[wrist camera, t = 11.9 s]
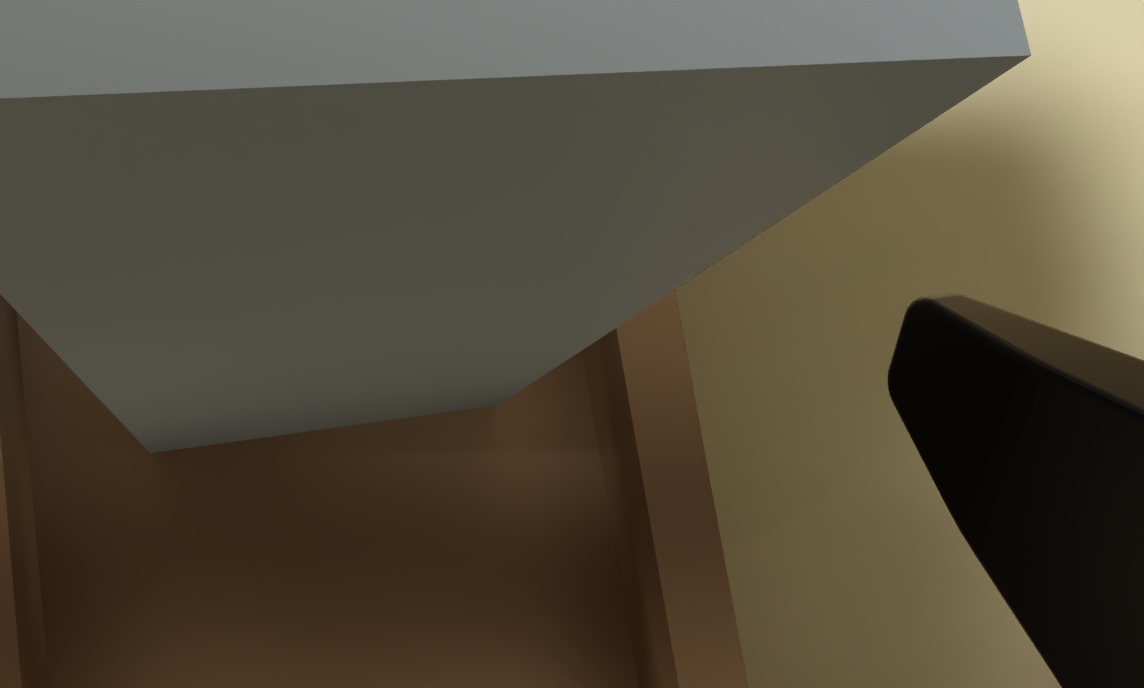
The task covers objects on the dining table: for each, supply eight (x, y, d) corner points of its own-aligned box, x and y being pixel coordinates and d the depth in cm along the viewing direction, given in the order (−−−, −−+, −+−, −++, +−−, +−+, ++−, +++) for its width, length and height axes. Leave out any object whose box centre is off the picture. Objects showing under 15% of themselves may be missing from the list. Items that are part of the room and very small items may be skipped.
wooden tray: (802, 1364, 16) (898, 1504, 13) (57, 1701, 13) (12, 1958, 10) (540, -125, 19) (580, -219, 17) (-86, -138, 16) (-143, -256, 14)
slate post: (498, 405, 16) (1030, 56, 5) (150, 453, 15) (-177, 107, 4) (448, 98, 17) (819, -794, 6) (113, 114, 16) (-253, -1050, 4)
